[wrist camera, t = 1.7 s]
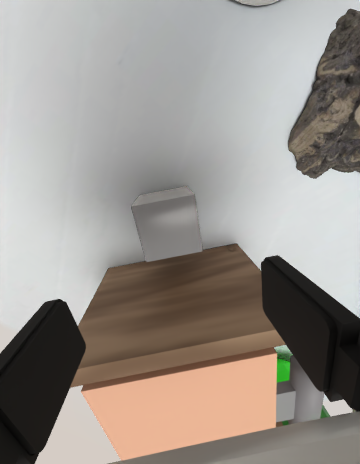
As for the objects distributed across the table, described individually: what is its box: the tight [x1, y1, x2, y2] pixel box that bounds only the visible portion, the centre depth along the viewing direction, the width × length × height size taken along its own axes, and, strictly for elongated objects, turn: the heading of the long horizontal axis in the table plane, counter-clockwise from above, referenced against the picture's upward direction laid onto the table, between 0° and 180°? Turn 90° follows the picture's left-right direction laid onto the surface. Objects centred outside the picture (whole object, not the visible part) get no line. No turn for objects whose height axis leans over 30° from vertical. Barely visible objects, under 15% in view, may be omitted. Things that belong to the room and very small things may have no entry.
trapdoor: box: [81, 347, 324, 461], centre depth 16 cm, size 14×18×2 cm
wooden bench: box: [70, 244, 286, 427], centre depth 22 cm, size 19×17×13 cm
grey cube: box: [131, 186, 203, 262], centre depth 20 cm, size 6×6×6 cm
